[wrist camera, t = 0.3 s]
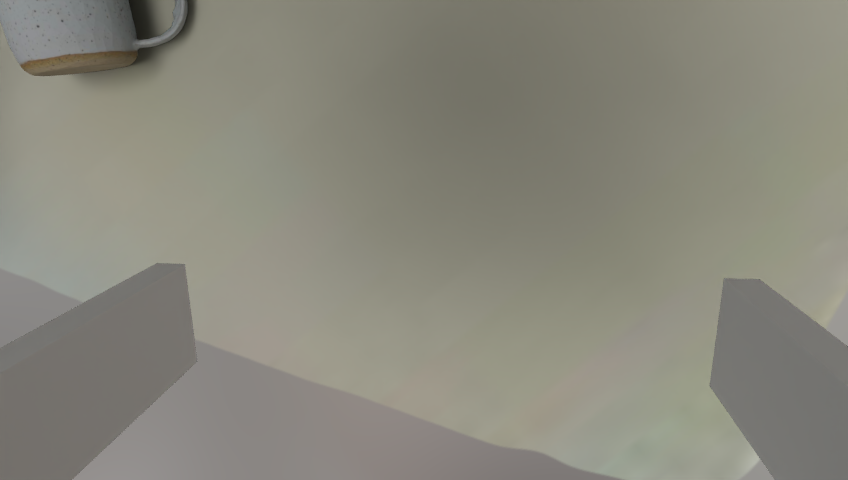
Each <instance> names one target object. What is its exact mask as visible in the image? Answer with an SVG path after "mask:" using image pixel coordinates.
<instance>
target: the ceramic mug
mask: <svg viewBox="0 0 848 480" xmlns="http://www.w3.org/2000/svg"><path fill="white" fill-rule="evenodd" d="M175 2H176V4H175V9H174V11H173V16H174V20H173V22H172V27H171V28H170V29H168V30H167V31H166V32H164V33H163V34H162V35H161V36H156V37H153V38H150V39H143V40H138V39H137V35H136V30H135V25H134V22H133V19H132V13H131V9H130V6H129V1H128V0H0V21H1V24H2V27H3V30H4V33H5V36H6V39H7V41H8V44H9V46H10V49H11V51H12V52H13V54H14V56H15V58H16V59H17V61H18V63H19V64H20V66H21V67H22V68H23V69H24V71H26V72H28V73H29V74H31V75H34V76H54V75H67V74H76V73H85V72H94V71H102V70H109V69H114V68H120V67H125V66H128V65H131V64H132V63H133V62H134V61H135V59H136V58H137V50H138V49H139V48H145V47H153V46H157V45H159V44H162V43H165V42H168V41H169V40H171V39H172V38H174V37H175V36H176V35H177V34H178V33H179V32H180V31H181V29H182V27H183V26H184V24H185V20H186V17H187V14H188V5H187V0H175Z"/></svg>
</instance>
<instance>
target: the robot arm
mask: <svg viewBox="0 0 848 480" xmlns="http://www.w3.org/2000/svg"><path fill="white" fill-rule="evenodd" d="M196 362H197V354H196V347H195V339H194V331H193V324H192V316H191V308H190V301H189V293H188V285H187V278H186V270H185V264H164V263H156V264H155V265H153V266H151V267H149V268H147V269H145V270H144V271H142V272H140V273H138V274H136V275H134V276H132V277H131V278H129V279H127V280H125V281H123V282H121V283H119V284H118V285H116V286H114V287H112V288H110V289H108V290H107V291H105V292H103V293H101V294H99V295H97V296H95V297H94V298H92V299H90V300H88V301H86V302H84V303H82V304H81V305H79V306H77V307H75V308H73V309H71V310H70V311H68V312H66V313H64V314H62V315H60V316H59V317H57V318H55V319H53V320H51V321H49V322H47V323H46V324H44V325H42V326H40V327H38V328H37V329H34V330H33V331H31V332H29V333H27V334H25V335H23V336H21V337H20V338H18V339H16V340H14V341H12V342H10V343H9V344H7V345H5V346H3V347H1V348H0V480H72V479H73V478H74V477H75V476H76V475H77V474H78V473H80V471H82V470H83V469H84V468H85V467H86V466H87V465H88V464H89V463H90V462H91V461H92V460H93V459H94V458H95V457H97V456H98V455H99V454H100V453H101V452H102V451H103V450H104V449H105V448H106V447H107V446H108V445H109V444H110V443H111V442H112V441H113V440H115V439H116V438H117V437H118V436H119V435H120V434H121V433H122V432H123V431H124V430H125V429H126V428H127V427H128V426H129V425H130V424H132V423H133V422H134V420H136V419H137V418H138V417H139V416H140V415H141V414H142V413H143V412H144V411H145V410H146V409H147V408H149V407H150V405H152V404H153V403H154V402H155V401H156V400H157V399H158V398H159V397H160V396H161V395H162V394H163V393H164V392H165V391H167V390H168V389H169V388H170V387H171V386H172V385H173V384H174V383H175V382H176V381H177V380H178V379H179V378H180V377H181V376H182V375H184V374H185V373H186V372H187V371H188V370H189V369H190V368H191V367H192V366H193V365H194V364H195V363H196ZM710 387H711V389H712V390H713V392H714V393H715V394H716V396H717V397H718V399H719V400H720V402H721V403H722V404H723V406H724V407H725V409H726V410H727V412H728V413H729V415H730V416H731V417H732V419H733V420H734V422H735V423H736V425H737V426H738V427H739V429H740V430H741V432H742V433H743V435H744V436H745V438H746V439H747V440H748V442H749V443H750V445H751V446H752V448H753V449H754V451H755V452H756V453H757V455H758V456H759V458H760V459H761V460H762V462H763V463H764V465H765V466H766V468H767V469H768V471H769V472H770V474H771V475H772V476H773V478H774V479H775V480H848V346H847V345H845V344H844V343H843V342H841V341H840V340H839V339H837V338H836V337H835V336H833V335H832V334H831V333H830V332H828V331H827V330H826V329H824V328H823V327H822V326H820V325H819V324H818V323H816V322H815V321H814V320H812V319H811V318H810V317H808V316H807V315H806V314H805V313H803V312H802V311H801V310H799V309H798V308H797V307H795V306H794V305H793V304H791V303H790V302H789V301H787V300H786V299H785V298H783V297H782V296H781V295H780V294H778V293H777V292H776V291H774V290H773V289H772V288H770V287H769V286H768V285H766V284H765V283H764V282H762V281H761V280H760V279H732V278H724V282H723V290H722V297H721V305H720V312H719V320H718V327H717V335H716V342H715V350H714V357H713V365H712V372H711V380H710Z"/></svg>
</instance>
